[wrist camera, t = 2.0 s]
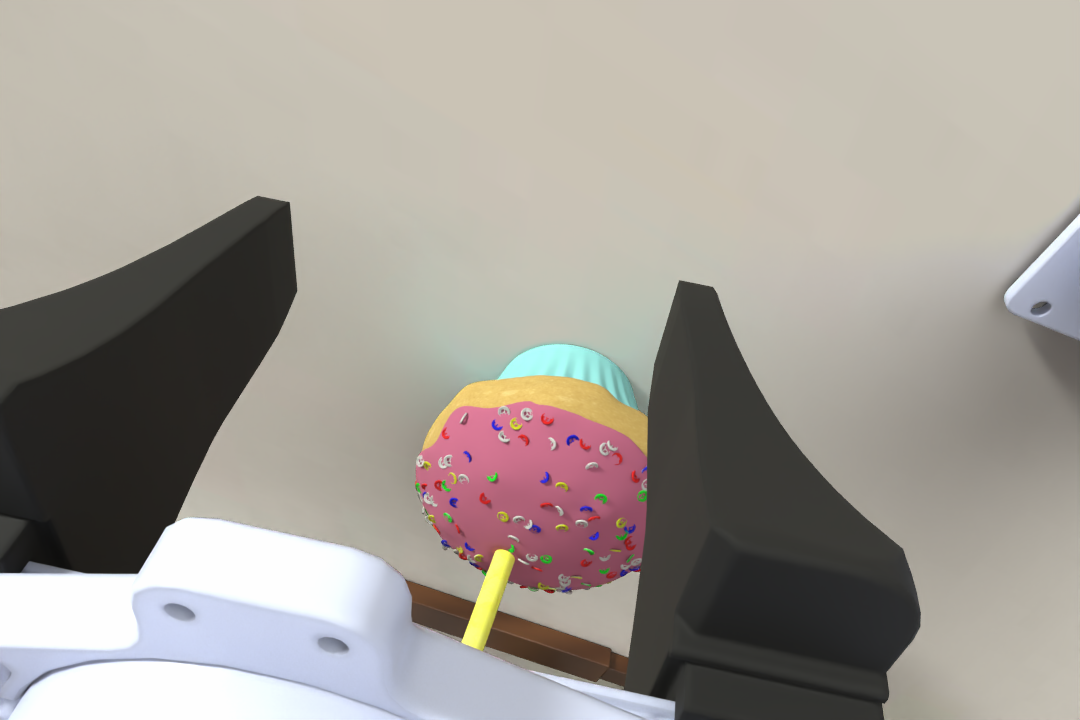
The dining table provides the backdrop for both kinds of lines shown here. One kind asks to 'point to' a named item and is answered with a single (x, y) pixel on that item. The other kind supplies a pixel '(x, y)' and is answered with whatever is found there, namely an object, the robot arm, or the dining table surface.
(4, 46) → the dining table surface
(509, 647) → the spoon
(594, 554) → the cupcake
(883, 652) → the robot arm
